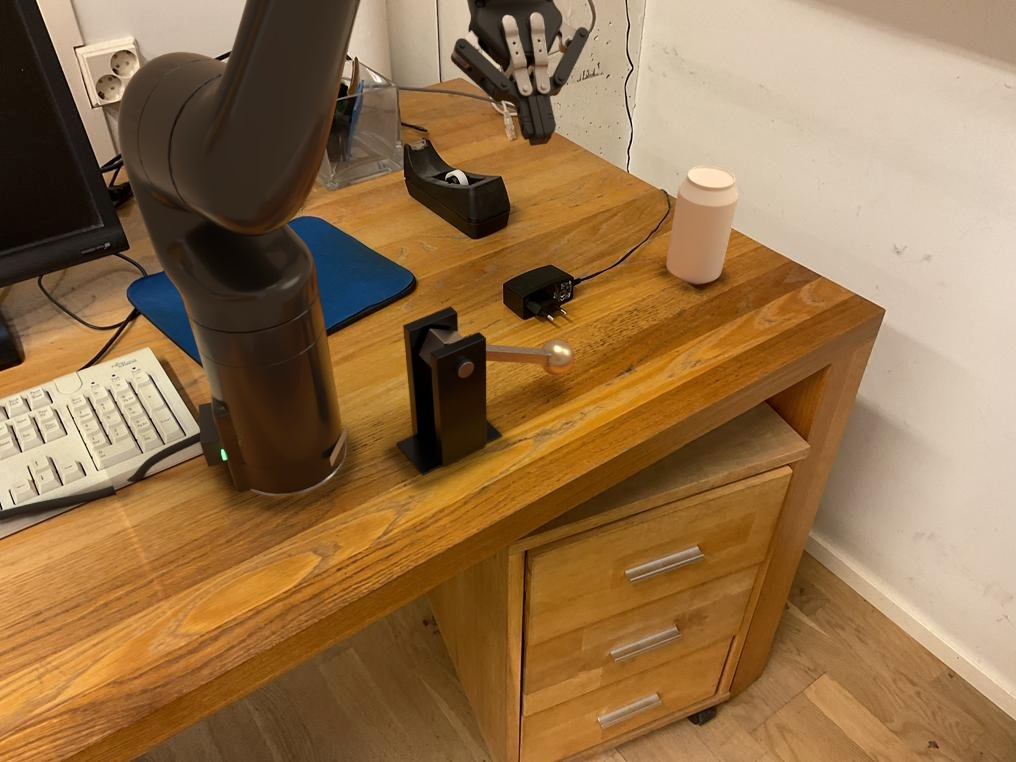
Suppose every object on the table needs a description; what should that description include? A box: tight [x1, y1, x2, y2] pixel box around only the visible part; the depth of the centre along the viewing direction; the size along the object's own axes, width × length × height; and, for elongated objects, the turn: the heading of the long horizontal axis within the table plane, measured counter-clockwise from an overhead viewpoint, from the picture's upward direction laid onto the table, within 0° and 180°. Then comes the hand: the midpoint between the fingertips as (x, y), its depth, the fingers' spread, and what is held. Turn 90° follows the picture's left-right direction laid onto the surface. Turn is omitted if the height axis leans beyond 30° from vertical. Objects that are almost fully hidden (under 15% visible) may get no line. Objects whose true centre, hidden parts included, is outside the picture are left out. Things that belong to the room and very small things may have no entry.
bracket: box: [395, 306, 503, 477], centre depth 66 cm, size 8×6×13 cm
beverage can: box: [665, 165, 739, 285], centre depth 87 cm, size 6×6×12 cm
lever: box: [419, 329, 575, 376], centre depth 68 cm, size 16×3×3 cm, turn 126°
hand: (541, 141), depth 71 cm, fingers closed
